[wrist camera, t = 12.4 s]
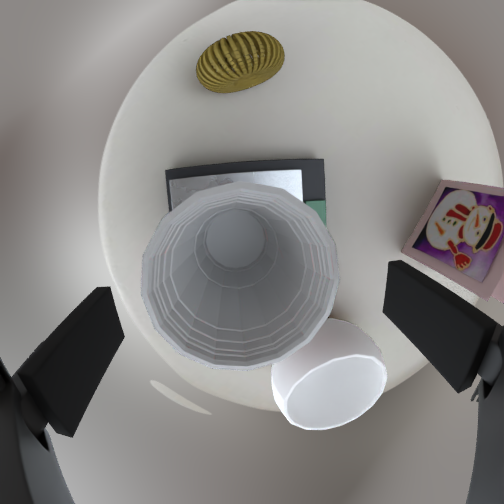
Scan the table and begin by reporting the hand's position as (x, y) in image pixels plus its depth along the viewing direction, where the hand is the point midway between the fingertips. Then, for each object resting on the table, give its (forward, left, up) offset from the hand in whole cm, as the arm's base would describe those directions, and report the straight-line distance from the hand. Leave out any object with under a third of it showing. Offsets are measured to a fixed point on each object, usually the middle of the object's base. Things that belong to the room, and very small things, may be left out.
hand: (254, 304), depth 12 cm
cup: (+15, +8, -17) cm, 24 cm away
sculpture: (-16, +1, -17) cm, 23 cm away
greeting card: (+1, +25, -17) cm, 30 cm away
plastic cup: (0, 0, -14) cm, 14 cm away
